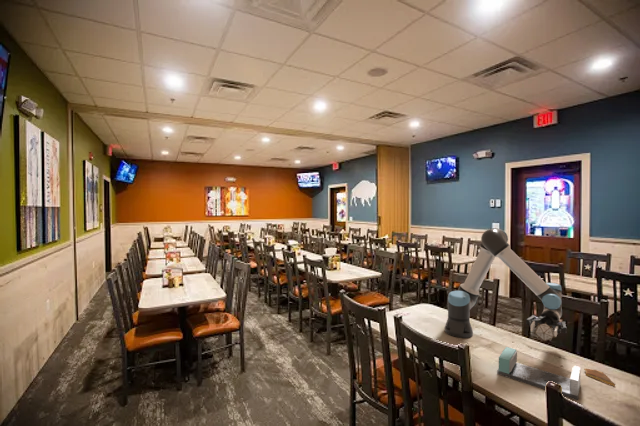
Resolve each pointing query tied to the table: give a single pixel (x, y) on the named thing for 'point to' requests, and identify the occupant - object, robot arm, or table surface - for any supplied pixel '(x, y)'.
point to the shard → (598, 376)
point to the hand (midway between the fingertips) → (543, 330)
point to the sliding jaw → (507, 360)
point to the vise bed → (546, 378)
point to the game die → (544, 332)
